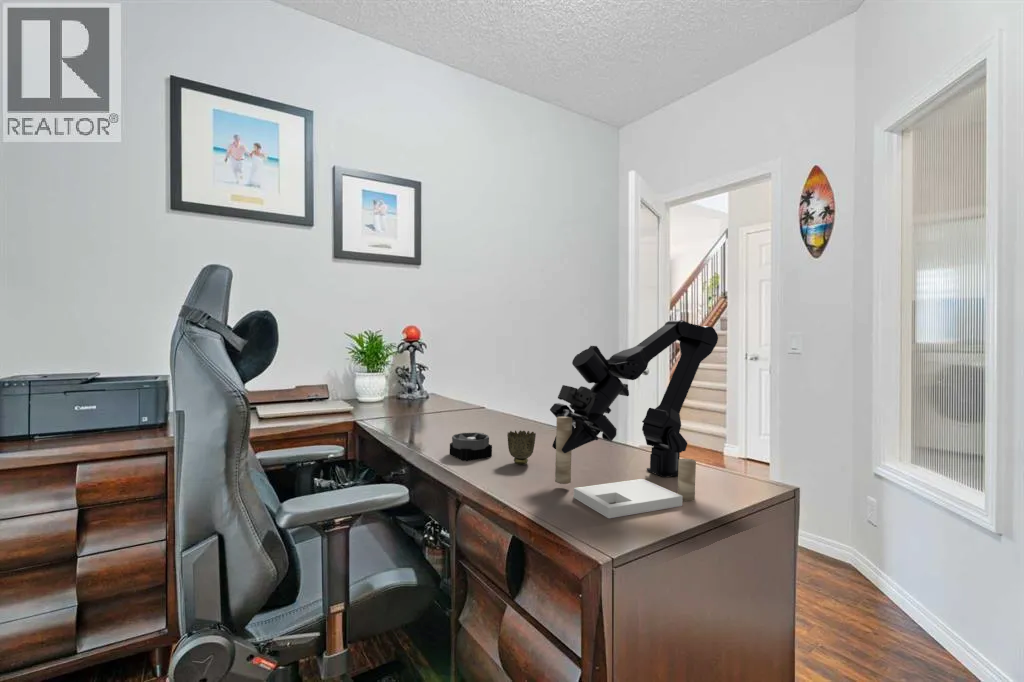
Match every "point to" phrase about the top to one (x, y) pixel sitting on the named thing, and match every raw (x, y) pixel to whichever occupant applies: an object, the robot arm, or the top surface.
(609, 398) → the robot arm
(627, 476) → the top surface
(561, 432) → the long pin
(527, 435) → the cup
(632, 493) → the hole plate
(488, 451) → the cpu cooler
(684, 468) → the short pin
